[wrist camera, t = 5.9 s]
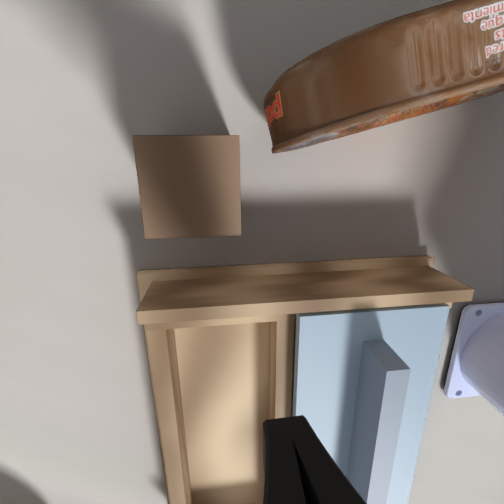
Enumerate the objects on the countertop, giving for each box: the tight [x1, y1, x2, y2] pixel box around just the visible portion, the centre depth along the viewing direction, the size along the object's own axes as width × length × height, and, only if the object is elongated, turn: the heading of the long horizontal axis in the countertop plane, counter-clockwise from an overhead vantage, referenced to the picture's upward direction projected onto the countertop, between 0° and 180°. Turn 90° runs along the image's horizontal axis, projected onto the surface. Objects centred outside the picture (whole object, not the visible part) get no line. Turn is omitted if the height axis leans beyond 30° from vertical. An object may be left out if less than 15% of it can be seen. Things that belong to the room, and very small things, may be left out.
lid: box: [293, 303, 450, 504], centre depth 18 cm, size 8×20×3 cm, turn 0°
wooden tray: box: [136, 256, 475, 504], centre depth 20 cm, size 19×23×4 cm
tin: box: [264, 0, 504, 154], centre depth 12 cm, size 15×3×8 cm, turn 104°
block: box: [132, 135, 241, 239], centre depth 14 cm, size 4×4×5 cm
